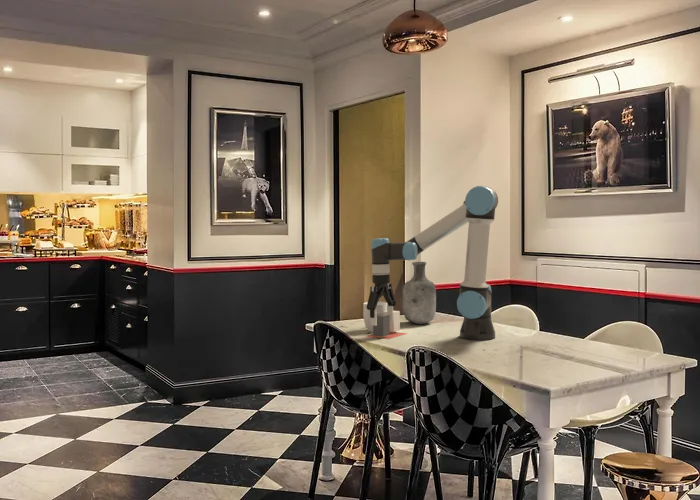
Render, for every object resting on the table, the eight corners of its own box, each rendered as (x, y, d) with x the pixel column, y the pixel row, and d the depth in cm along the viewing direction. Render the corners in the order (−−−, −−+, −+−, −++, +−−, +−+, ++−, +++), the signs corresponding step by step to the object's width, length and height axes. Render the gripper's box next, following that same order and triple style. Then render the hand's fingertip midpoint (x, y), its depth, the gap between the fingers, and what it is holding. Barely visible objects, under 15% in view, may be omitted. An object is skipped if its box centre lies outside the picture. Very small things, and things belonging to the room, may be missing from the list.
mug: (382, 327, 322) (382, 300, 321) (398, 330, 314) (398, 302, 313) (358, 331, 313) (358, 303, 312) (374, 334, 304) (374, 305, 303)
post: (385, 337, 295) (385, 316, 295) (382, 338, 293) (382, 317, 293) (380, 336, 297) (380, 316, 296) (377, 337, 295) (377, 316, 294)
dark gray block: (389, 334, 296) (389, 314, 295) (383, 336, 291) (383, 316, 291) (379, 333, 299) (379, 314, 298) (373, 335, 294) (373, 315, 294)
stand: (408, 334, 304) (408, 311, 303) (388, 340, 290) (388, 316, 290) (385, 331, 311) (385, 309, 310) (365, 337, 297) (365, 314, 297)
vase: (398, 321, 338) (397, 261, 337) (428, 320, 343) (427, 260, 341) (410, 327, 323) (410, 263, 321) (441, 324, 328) (441, 262, 326)
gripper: (388, 271, 306) (389, 318, 307) (357, 276, 285) (358, 326, 286) (403, 271, 301) (404, 319, 302) (372, 276, 281) (373, 327, 282)
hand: (382, 323), depth 294 cm, fingers open, 13 cm apart
